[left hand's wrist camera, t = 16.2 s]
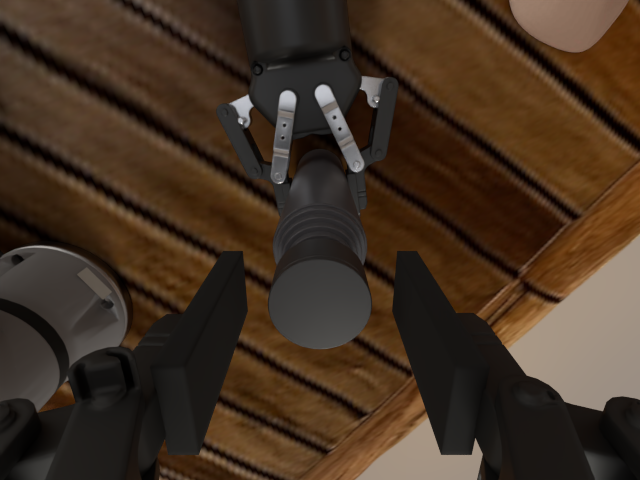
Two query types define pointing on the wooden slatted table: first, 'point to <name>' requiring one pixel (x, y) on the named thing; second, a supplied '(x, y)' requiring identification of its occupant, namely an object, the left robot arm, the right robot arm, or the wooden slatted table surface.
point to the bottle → (320, 207)
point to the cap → (319, 294)
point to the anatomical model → (567, 20)
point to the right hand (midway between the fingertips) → (324, 217)
